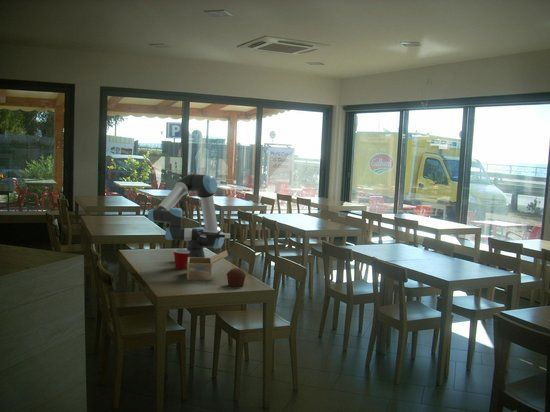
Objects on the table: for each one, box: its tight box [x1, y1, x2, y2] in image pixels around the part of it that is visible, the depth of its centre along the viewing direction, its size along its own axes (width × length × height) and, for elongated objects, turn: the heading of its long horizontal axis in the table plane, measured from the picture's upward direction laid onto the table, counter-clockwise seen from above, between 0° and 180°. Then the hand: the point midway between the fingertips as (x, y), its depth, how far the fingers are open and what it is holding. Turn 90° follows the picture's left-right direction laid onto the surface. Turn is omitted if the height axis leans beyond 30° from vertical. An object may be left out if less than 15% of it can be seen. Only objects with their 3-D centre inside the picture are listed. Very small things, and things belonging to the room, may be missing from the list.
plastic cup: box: [173, 248, 190, 270], centre depth 373 cm, size 11×11×12 cm
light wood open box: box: [186, 257, 213, 281], centre depth 353 cm, size 21×14×10 cm
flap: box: [210, 250, 229, 265], centre depth 354 cm, size 19×1×10 cm
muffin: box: [226, 267, 247, 288], centre depth 334 cm, size 12×11×10 cm
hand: (230, 236), depth 353 cm, fingers closed
